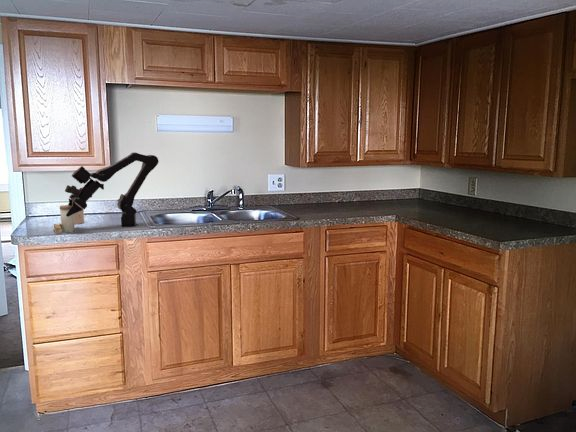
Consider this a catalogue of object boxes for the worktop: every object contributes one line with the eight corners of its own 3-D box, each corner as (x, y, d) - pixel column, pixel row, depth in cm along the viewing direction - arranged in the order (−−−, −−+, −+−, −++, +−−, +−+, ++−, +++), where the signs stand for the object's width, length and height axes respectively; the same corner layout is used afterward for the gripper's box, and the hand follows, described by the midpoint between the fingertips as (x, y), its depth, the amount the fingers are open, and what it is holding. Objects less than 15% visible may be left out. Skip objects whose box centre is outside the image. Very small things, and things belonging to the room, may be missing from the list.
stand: (74, 228, 249) (73, 222, 249) (77, 232, 239) (77, 226, 239) (54, 230, 245) (53, 224, 244) (56, 234, 235) (56, 227, 234)
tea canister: (76, 229, 246) (75, 205, 244) (72, 232, 240) (70, 206, 238) (63, 229, 245) (62, 205, 243) (59, 232, 239) (57, 206, 237)
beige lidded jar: (70, 221, 269) (68, 200, 267) (87, 221, 269) (85, 199, 267) (60, 225, 257) (59, 203, 255) (78, 225, 257) (77, 202, 256)
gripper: (72, 177, 249) (49, 201, 245) (77, 180, 233) (53, 206, 229) (90, 192, 254) (68, 216, 250) (96, 196, 238) (73, 221, 234)
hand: (65, 214), depth 241 cm, fingers open, 9 cm apart
